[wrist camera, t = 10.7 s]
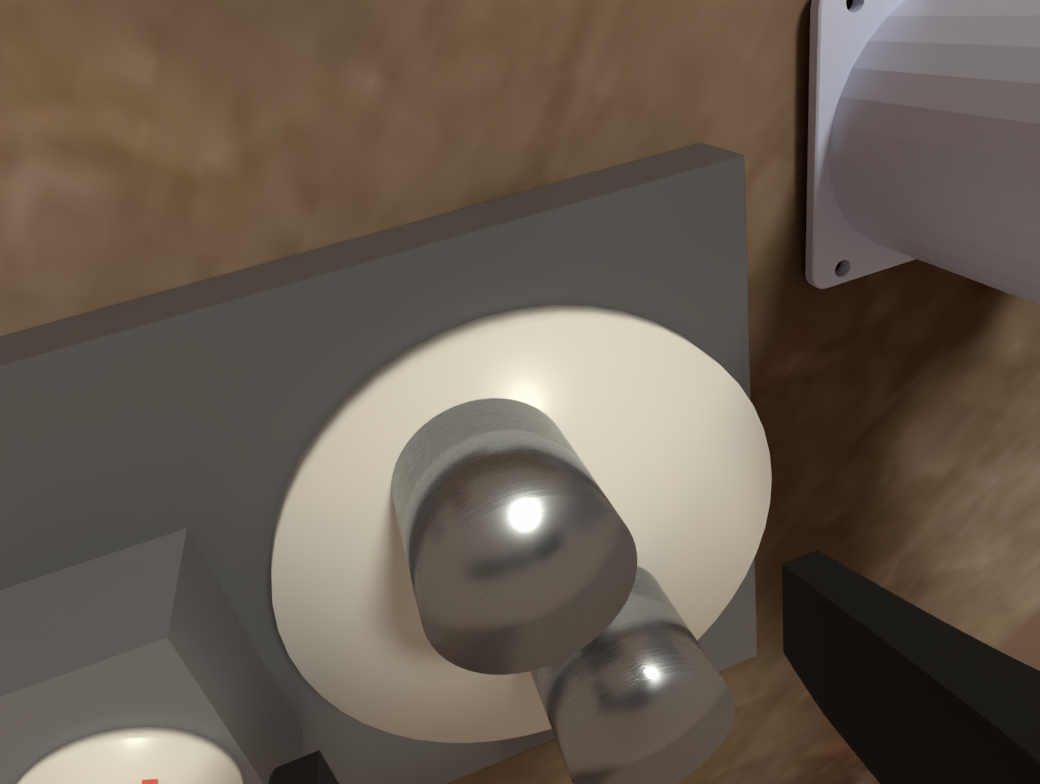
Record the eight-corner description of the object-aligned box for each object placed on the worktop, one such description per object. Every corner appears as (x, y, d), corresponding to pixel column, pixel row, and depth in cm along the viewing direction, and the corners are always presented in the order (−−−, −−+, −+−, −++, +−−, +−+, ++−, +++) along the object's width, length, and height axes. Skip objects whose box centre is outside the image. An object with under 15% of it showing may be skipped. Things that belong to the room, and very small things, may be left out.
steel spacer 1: (546, 370, 17) (616, 461, 13) (584, 511, 19) (652, 619, 15) (362, 441, 16) (386, 554, 13) (425, 578, 18) (459, 705, 15)
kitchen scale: (701, 142, 18) (863, 189, 13) (727, 616, 27) (829, 751, 22) (-141, 375, 15) (-353, 556, 10) (206, 824, 24) (187, 1038, 19)
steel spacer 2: (655, 540, 20) (732, 646, 17) (668, 645, 22) (737, 756, 19) (506, 596, 19) (554, 718, 16) (535, 698, 22) (583, 824, 18)
